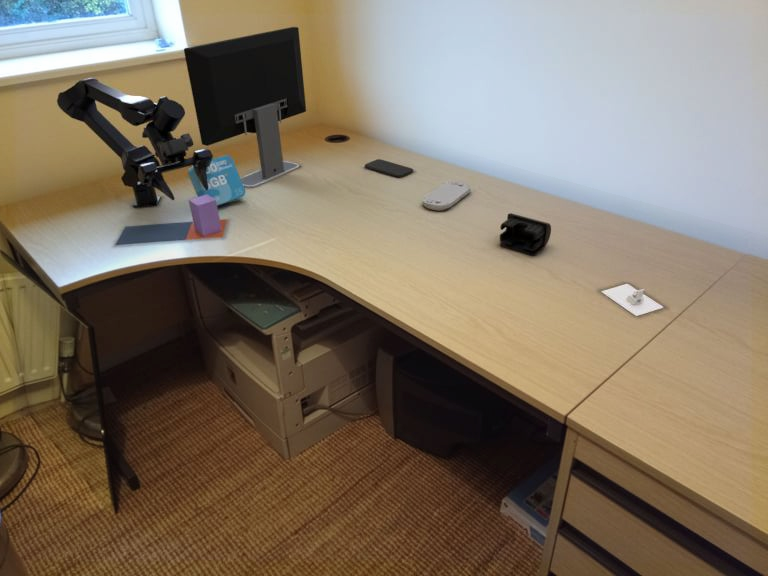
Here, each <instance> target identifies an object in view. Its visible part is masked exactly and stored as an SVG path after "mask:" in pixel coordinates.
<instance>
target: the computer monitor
mask: <svg viewBox="0 0 768 576" xmlns="http://www.w3.org/2000/svg"><path fill="white" fill-rule="evenodd" d="M300 40H301V39H300V30H299V27H298V26H290V27H285V28H279V29H276V30H271V31H270V30H269V31H264V32H259V33H255V34H250V35H246V36H244V35H243V36H240V37H239V36H238V37H235V38H229V39H225V40H224V39H223V40H219V41H213V42H209V43H205V44H199V45H195V46H189V47H185V48H184V49H183V53H184V58H185V63H186V68H187V74H188V78H189V79H188V80H189V83H190V84H189V85H190V90H191V95H192V100H193V106H194V110H195V115H196V120H197V125H198V130H199V137H200V141H201V145H202V146H206V147H209V146H211V145H214V144H217V143H220V142H223V141H226V140H228V139H231V138H235V137H237V136H240V135H243V134H244V136H247V135H248V133H249V134H256V141H257V147H258V155H259V156H258V157H259V163H260V169H259V170H255V171H253V172H251V173H249V174H246V175H243V176H241V177H240V179H241V181H242V183H243V186H244V188H256V187H258V186H260V185H262V184H265V183H266V182H269V181H272V180H274V179H276V178H279V177H280V176H282V175H285V174H287V173H290V172H292V171H294V170H296V169H299V167H300V164H299V163H296V162H292V161H287V160H284V158H283V150H282V142H281V134H280V126H279V124H282V121H283V120H286V119H289V118H292V117H295V116H297V115H300V114H304V113H306V112H307V105H306V94H305V84H304V73H303V72H304V71H303V61H302V52H301V51H302V50H301V41H300Z"/></svg>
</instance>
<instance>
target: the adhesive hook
mask: <svg viewBox="0 0 768 576" xmlns="http://www.w3.org/2000/svg"><path fill="white" fill-rule="evenodd" d="M644 291H645V288H643V289H636V290H634V291H633V293H631V294H629V295H628V296H627V297H626V298H625V300H626V301H628V302H629V303H630V304H631V305H641V304H643V303H644V302H645V298H644V295H645V294H644Z"/></svg>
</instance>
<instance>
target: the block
mask: <svg viewBox="0 0 768 576" xmlns="http://www.w3.org/2000/svg"><path fill="white" fill-rule="evenodd" d="M188 203H189V204H188V205H189V208H190V213H191V218H192V222H193V223H194V228H195V231H197V232H198V233H199V234H201V235H202V236H204V237H205V236H208V235H211V234H214V233H217V232H220V231H222V229H221V223H220V220H221V218H220V214H219V209H218V206H217V202H216V200H215V199H214V198H212V197H210V196H209V195H207V194H206V195H203V196H200V197H198V196H197V197H193V198H190V199H188Z"/></svg>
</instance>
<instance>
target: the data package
mask: <svg viewBox="0 0 768 576" xmlns="http://www.w3.org/2000/svg"><path fill="white" fill-rule="evenodd" d="M187 175H188V177H189V179H190V182H191V184H192V187H193V189H194V192H195V194H196V196H197V197H200V196H203V195H206V194H207V195H209V196H210V197H212V198H214V199H215V200H216V202H217V207H218V206H222V205H224V204H228V203H230V202H234V201H236V200H238V199H239V200H240V199H241V198H243V197H244V196H245V195H246V187H244V186H243V183H242V181H241V179H240V178H241V177H240V173H239V172H238V168H237V167H236V164H235V161H234V159H233V157H231V155H228V154H227V155H222V156H219V157H215V158H212V161H211V163H210V166H209V167H207V170H206V175H207V182H208V190H206V189H205V188H204V187H203V185H202V183H201V181H200V179H199V178H198V176H197V174H196V168H194V166H193V165H191V167H189V168H188V170H187Z"/></svg>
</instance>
